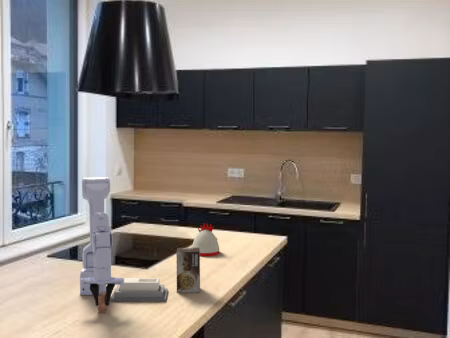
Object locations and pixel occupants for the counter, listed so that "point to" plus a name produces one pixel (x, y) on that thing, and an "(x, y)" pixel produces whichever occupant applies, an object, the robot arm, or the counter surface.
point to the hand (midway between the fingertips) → (102, 305)
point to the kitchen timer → (206, 242)
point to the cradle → (139, 295)
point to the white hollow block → (140, 284)
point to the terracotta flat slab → (102, 302)
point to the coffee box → (188, 270)
